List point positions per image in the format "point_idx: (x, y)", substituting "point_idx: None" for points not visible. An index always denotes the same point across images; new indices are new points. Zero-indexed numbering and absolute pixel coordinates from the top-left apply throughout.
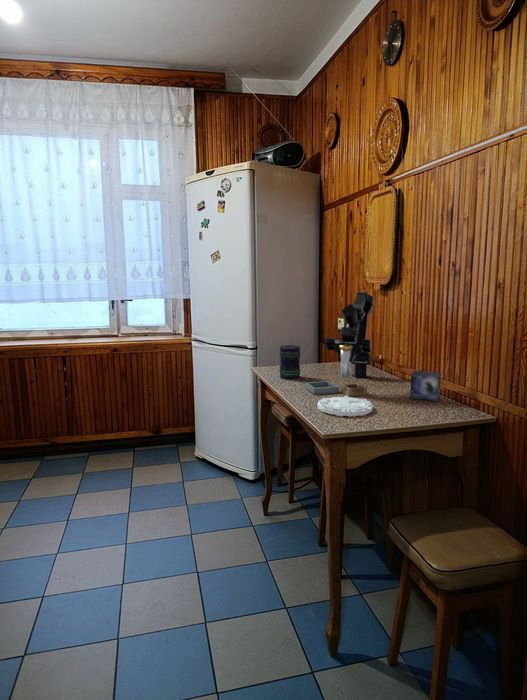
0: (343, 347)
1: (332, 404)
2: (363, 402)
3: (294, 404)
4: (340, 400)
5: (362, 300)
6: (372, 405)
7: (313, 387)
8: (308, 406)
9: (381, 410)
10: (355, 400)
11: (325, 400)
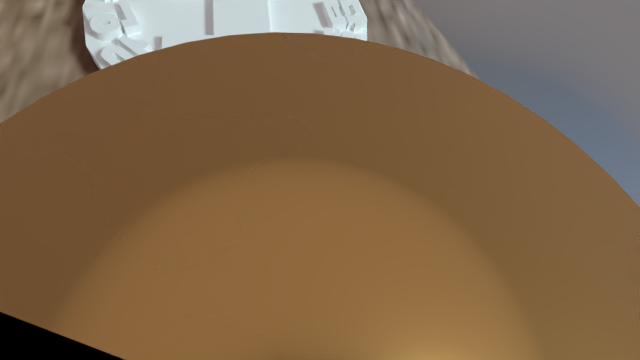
0: (392, 78)
1: (294, 2)
2: (131, 10)
3: (470, 70)
4: (260, 28)
5: None
6: (84, 6)
7: None
8: None
9: (41, 28)
10: (176, 37)
11: (335, 20)
